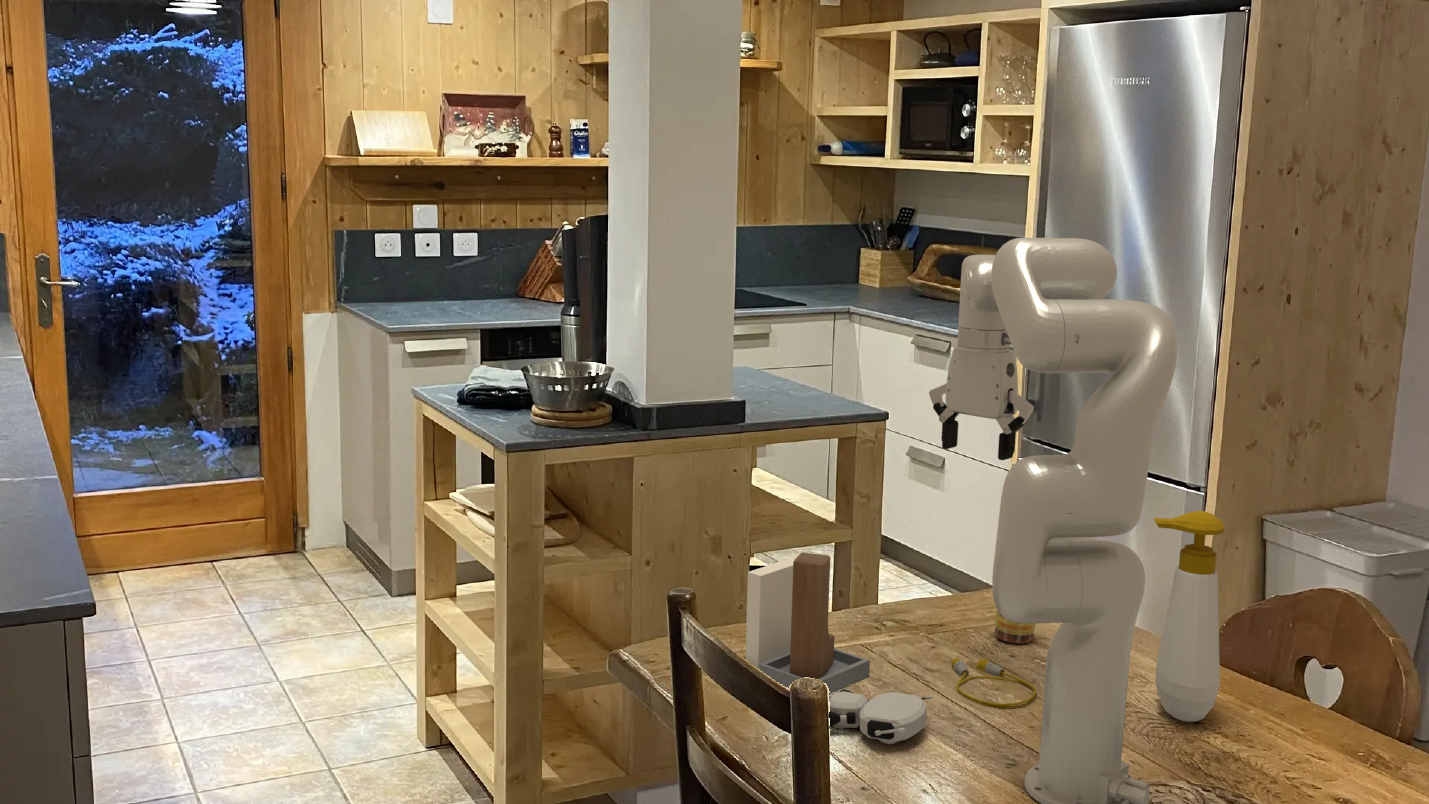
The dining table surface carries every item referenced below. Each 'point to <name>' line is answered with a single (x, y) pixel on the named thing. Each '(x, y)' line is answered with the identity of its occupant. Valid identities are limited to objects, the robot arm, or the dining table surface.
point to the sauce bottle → (1013, 630)
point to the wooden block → (810, 617)
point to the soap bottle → (1191, 624)
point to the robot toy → (879, 714)
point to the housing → (786, 630)
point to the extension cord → (992, 669)
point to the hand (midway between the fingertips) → (977, 453)
